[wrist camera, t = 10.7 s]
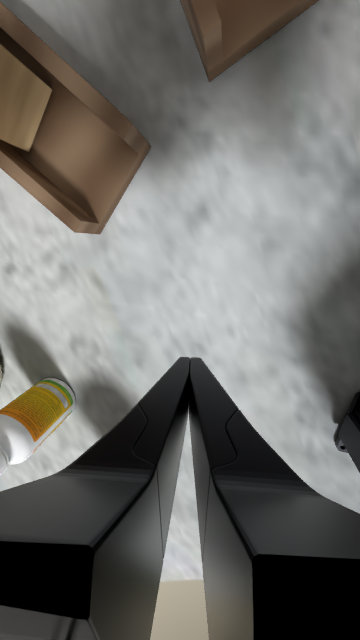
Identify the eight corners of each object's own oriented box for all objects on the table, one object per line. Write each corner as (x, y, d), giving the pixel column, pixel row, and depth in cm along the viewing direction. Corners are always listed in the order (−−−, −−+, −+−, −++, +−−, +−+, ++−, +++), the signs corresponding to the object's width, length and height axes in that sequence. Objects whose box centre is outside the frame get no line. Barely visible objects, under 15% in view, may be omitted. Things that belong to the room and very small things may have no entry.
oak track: (151, 146, 17) (120, 109, 12) (99, 234, 20) (60, 231, 15) (-6, 2, 16) (-102, -95, 11) (-35, 116, 19) (-120, 75, 14)
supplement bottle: (39, 370, 27) (-57, 433, 18) (79, 385, 26) (0, 459, 17) (38, 403, 29) (-50, 475, 20) (75, 419, 28) (2, 500, 19)
